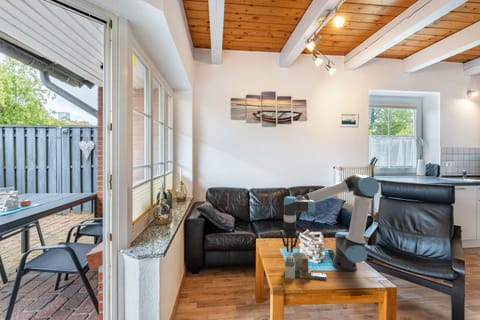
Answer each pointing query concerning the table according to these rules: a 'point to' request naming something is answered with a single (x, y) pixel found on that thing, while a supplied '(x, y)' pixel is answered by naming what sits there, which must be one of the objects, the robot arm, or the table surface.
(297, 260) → the mug
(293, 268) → the cabinet
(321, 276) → the rail
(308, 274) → the carriage
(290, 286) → the table surface
